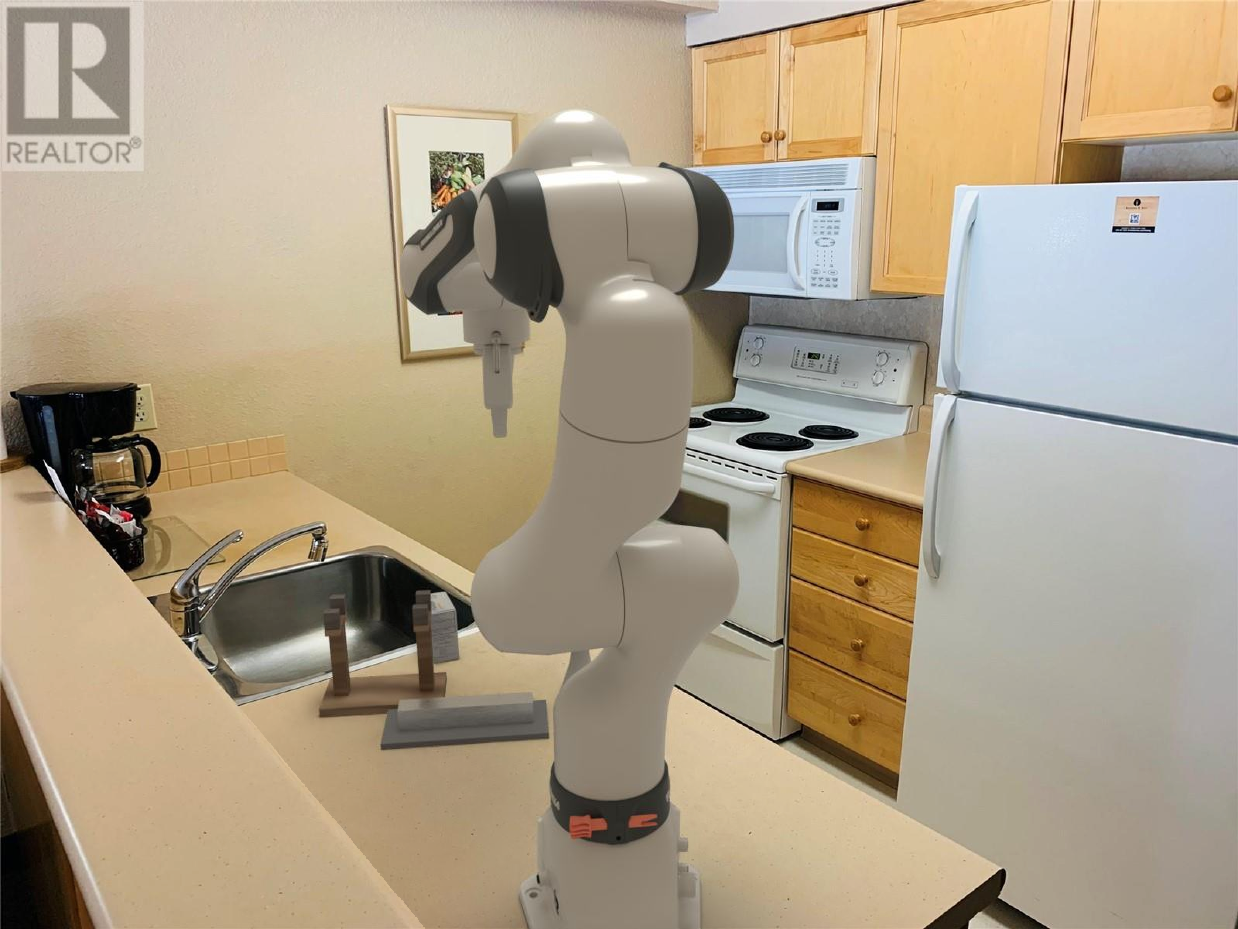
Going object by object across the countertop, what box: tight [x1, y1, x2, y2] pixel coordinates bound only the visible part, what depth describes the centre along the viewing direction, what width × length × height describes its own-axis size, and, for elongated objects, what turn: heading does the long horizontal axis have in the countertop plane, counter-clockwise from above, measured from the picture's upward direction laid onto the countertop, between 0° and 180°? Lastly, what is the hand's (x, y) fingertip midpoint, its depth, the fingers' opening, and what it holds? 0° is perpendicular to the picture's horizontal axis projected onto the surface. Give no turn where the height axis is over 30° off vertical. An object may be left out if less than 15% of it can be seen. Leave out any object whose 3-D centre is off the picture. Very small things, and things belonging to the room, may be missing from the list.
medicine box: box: [431, 591, 460, 664], centre depth 151 cm, size 8×4×9 cm, turn 22°
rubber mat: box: [380, 699, 550, 750], centre depth 131 cm, size 9×22×1 cm, turn 97°
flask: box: [559, 650, 592, 691], centre depth 135 cm, size 7×7×10 cm
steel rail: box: [397, 691, 534, 731], centre depth 130 cm, size 3×18×3 cm, turn 97°
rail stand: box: [318, 589, 448, 718], centre depth 136 cm, size 9×17×15 cm, turn 97°
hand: (500, 428), depth 131 cm, fingers open, 8 cm apart
